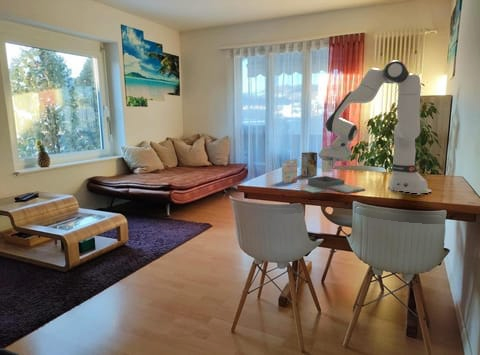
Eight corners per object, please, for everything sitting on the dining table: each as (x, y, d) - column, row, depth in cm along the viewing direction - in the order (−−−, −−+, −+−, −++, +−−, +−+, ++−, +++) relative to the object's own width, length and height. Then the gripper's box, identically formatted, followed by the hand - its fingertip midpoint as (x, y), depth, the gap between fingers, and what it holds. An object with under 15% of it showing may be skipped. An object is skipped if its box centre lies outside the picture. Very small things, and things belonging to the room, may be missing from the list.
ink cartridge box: (293, 180, 219) (293, 158, 217) (297, 182, 215) (297, 159, 212) (281, 181, 216) (281, 158, 214) (285, 183, 212) (285, 159, 209)
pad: (326, 190, 190) (326, 190, 190) (313, 193, 185) (313, 192, 185) (313, 187, 199) (313, 186, 198) (300, 189, 193) (300, 188, 193)
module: (332, 171, 204) (332, 158, 202) (327, 172, 202) (327, 159, 200) (326, 170, 208) (327, 157, 206) (321, 171, 206) (322, 158, 204)
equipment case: (365, 190, 191) (365, 184, 191) (346, 193, 183) (347, 187, 183) (325, 181, 217) (325, 175, 216) (307, 183, 209) (308, 178, 208)
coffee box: (310, 174, 242) (311, 151, 239) (316, 175, 237) (317, 152, 234) (300, 175, 238) (301, 152, 235) (306, 176, 232) (307, 153, 229)
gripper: (323, 142, 214) (311, 159, 211) (349, 144, 197) (336, 162, 194) (328, 149, 217) (316, 165, 214) (354, 151, 200) (341, 169, 197)
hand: (326, 164), depth 204 cm, fingers closed on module, 4 cm apart
